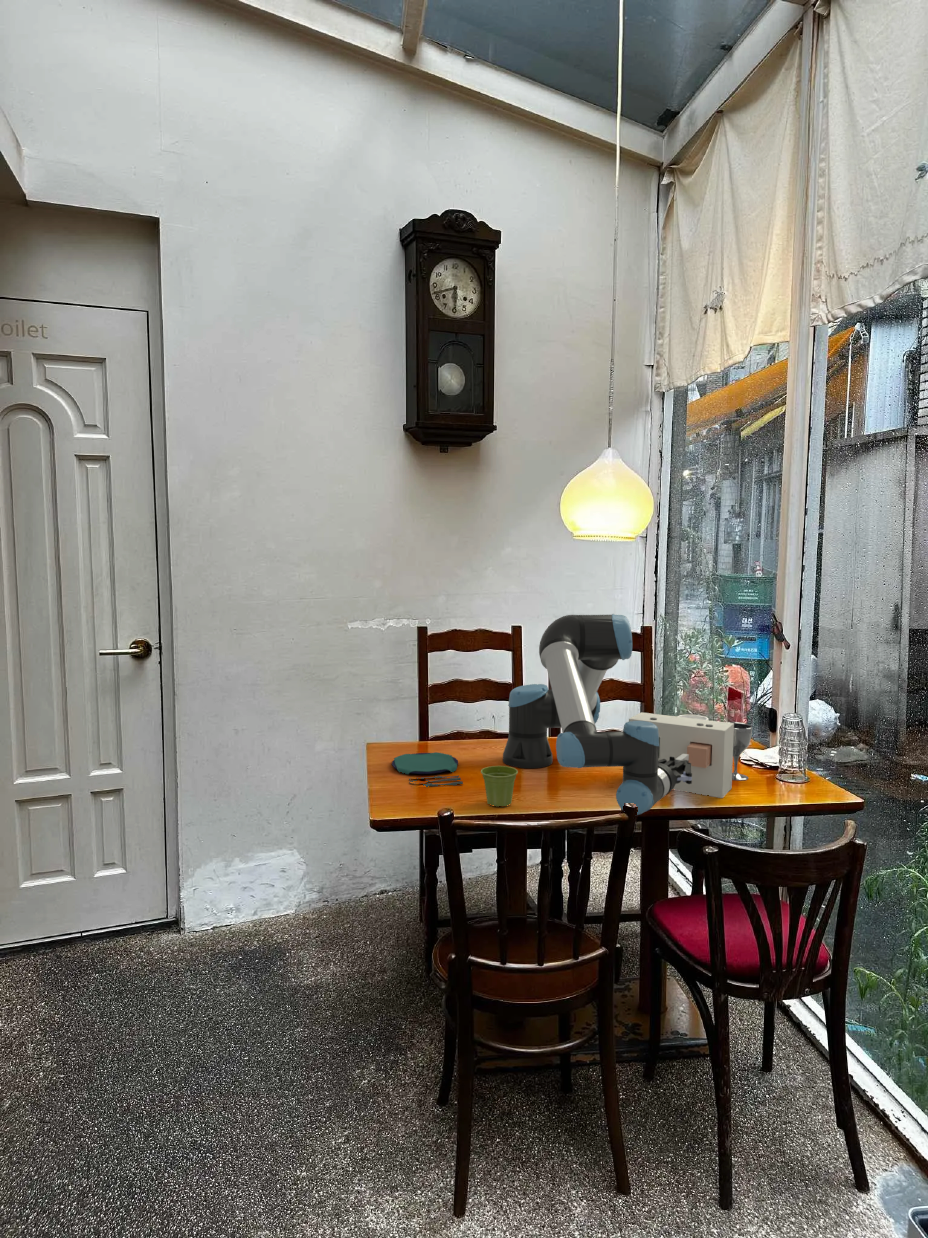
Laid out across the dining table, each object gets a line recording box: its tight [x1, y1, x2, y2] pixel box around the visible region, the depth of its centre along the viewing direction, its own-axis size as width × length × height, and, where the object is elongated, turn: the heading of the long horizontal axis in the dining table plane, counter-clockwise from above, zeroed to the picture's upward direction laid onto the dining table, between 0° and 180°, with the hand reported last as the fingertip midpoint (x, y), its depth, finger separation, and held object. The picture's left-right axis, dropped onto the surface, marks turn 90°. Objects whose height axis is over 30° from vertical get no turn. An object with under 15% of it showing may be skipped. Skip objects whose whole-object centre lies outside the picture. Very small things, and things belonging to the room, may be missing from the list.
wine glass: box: [727, 721, 753, 782], centre depth 223 cm, size 8×8×15 cm
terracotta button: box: [687, 742, 712, 768], centre depth 205 cm, size 6×5×5 cm
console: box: [628, 711, 734, 799], centre depth 214 cm, size 10×26×18 cm, turn 58°
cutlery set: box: [391, 752, 464, 787], centre depth 227 cm, size 20×30×2 cm, turn 10°
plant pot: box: [480, 765, 519, 807], centre depth 199 cm, size 9×9×9 cm
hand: (685, 759), depth 199 cm, fingers closed
